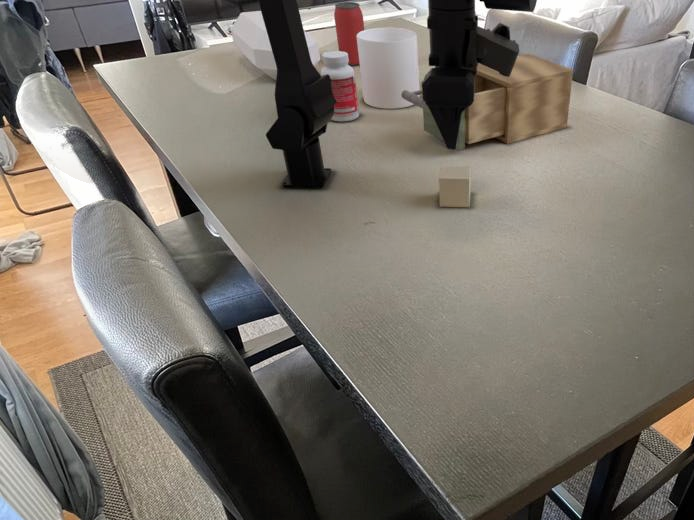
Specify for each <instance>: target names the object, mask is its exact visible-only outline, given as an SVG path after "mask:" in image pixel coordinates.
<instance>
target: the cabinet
mask: <svg viewBox="0 0 694 520" xmlns="http://www.w3.org/2000/svg"><path fill="white" fill-rule="evenodd" d="M476 67H477V73H476V75H479V76H481V77H484V78H486V79H488V80H491V81H493V82H496V83H498V84H500V85H503V86H505V87H507V98H506V123H505V134H504V135H501V136H497V137H494V138H495V139H497V140H499V141H501V142H503V143H505V144H507V145H508V144H512V143H515V142H519V141H523V140H527V139H530V138H534V137H538V136H541V135H544V134H548V133H552V132H556V131H559V130H562V129H566V128H568V121H569V112H570V111H569V110H570V101H571V93H572V84H573V74H574V69H572V68H570V67H567V66H564V65H561V64H559V63H555V62H553V61H550V60H547V59H545V58H542V57H539V56H536V55H532V54H529V53H526V54H521V55H518V56H517V59H516V62H515V64H514V67H513V69H512V72H511V75H510V77H506V76H503V75H501V74H500V73H499V72H498V71H496V70H493V69H491V68H489V67H486V66H484V65H482V64H480V63H479V64H478V66H476Z"/></svg>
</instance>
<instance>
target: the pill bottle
mask: <svg viewBox="0 0 694 520" xmlns="http://www.w3.org/2000/svg"><path fill="white" fill-rule="evenodd" d="M321 56H322V57H321V58H322V63H323V65H324V66H323V67H322V68H321V70H320V75H321V76H322V75H327V74H328V75H329V76H330V78H331V85H332V92H333V95H334V97H335V99H336V101H337V104H335V105H334V116H333V117H332V119H331V120H330V121H334V122H350V121H353V120H356V119H358V118H359V116H360V107H359V100H358V99H359V98H358V92H357V91H358V90H357V85H356V84H357V82H356V77H355V71H354V69H353V67H352V66H351V65H348V62H349V58H348V53H346V52H342V51H339V50H332V51H325V52H323V53H322V54H321Z"/></svg>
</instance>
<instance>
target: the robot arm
mask: <svg viewBox="0 0 694 520" xmlns="http://www.w3.org/2000/svg"><path fill="white" fill-rule="evenodd" d="M257 1H258V5H259V8H260V11H261V13H262V16H263V20H264V24H265V27H266V31H267V34H268V38H269V42H270V45H271V49H272V52H273V56H274V60H275V63H276V67H277V76H276V81H275V87H274V101H275V108H276V114H277V119H276V120H275V121H274V123H273V124H272V125H271V127H270V128H268V130H267V132H266V133H265V137H266V139H267V141H268V143H269V145H270V146H271V147H270V148H272V149H273V150H280V151H282V154H283V159H284V165H285V167H286V172H287V174H286V176H285V177H284V179H283V181H282V182H281V186H282V188H299V189H300V188H304V189H305V188H306V189H323V188H324V187H325V186H326V184H327V181H328V180H329V178H330V176H331V175H332V168H329V167H325V165H324V160H323V154H322V148H321V142H320V138H319V137H321V136H322V135H324V134H326V132H327V129H328V124H329V123H330V122H331V121H332V120H331V119H332V117H333V116H334V105H335V104H337V101H336V99H335V97H334V95H333V92H332V85H331V78H330V76H329V75H328V74H327V75H322V76H321V73H320V72H319V71H318V69H317V68H316V66H315V67H314V65H313V64H312V61H311V58H310V54H309V50H308V46H307V42H306V38H305V33H304V31H305V30H304V26H303V25H304V24H303V22H302V18H301V14H300V13H301V12H300V9H299V5H298V0H257ZM479 2H481V3H483V4H484V7H485V9H488V10H499V11H512V12H527V13H533V12H534V11H535V9H536V6H537V2H538V0H479ZM427 4H428V5H427V8H428V15H427V18H426V29H427V30H428V33H429V34H428V35H429V54H428V67H431V68H430V70H429V71H428V72H427V73H426V74H425V75H424V77H423V83H421V90H422V91H423V101H425V103H426V105H427V106H428V108H429V110H430V112H431V114H432V116H433V118H434V120H435V122H436V124H437V126H438V129H439V131H440V133H441V135H442V137H443V140H444V141H443V142H444V144H445V146H446V148H447V150H456V144H457V138H458V132H459V126H460V121H461V115H462V112H463V111H464V110H465V109H466V108H468V107H470V106H471V105H472V104H473V102H474V95H475V77H474V75H475V74H476V73H477V67H476V66H478V63H480V64H482V65H484V66H486V67H489V68H491V69H493V70H496V71H498V72H499V73H500V74H501V75H503V76H506V77H510V75H511V72H512V69H513V67H514V64H515V62H516V59H517V56H519V54H520V45H519V43H517V41H516V40H515V39H513V40H512V39H511V31H510V29H511V28H510V26H508V25H507V24H504V23H502V22H498V24H497V25H496V26H495V27H494V28H493V29H492V30H491V29H490V28H487V29H486V28H483V27H481V26H479V15H478V14H476V13H477V12H476V0H428V1H427Z"/></svg>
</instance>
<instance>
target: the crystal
mask: <svg viewBox="0 0 694 520" xmlns="http://www.w3.org/2000/svg"><path fill="white" fill-rule="evenodd" d="M304 33H305V38H306V42H307V46H308V50H309V54H310V58H311V61H312V64H313V65H314V67H315V68H316V66H317V65H318V64H319V62H320V61H321V54H320V47H319V41H318V40H316V39H315V38H314V37H313V36H312V35H310V33H308V32H307V31H306V30H304ZM230 34H231V37H232V41H233V46H234V47H235V48H236V49H237V50H238V51H239V52H240V53H241V54H242V55H243V56H244V57H245V58H246V59H247V60H249V61H250V62H251V64H253V65H254V66H255V67H256V68H257V69H258V70H260V71H261V72H263V73H264V74H266V75H267V76H268V77H269V78H271V79H272V80H274V81H275V82H276V76H277V67H276V63H275V60H274V56H273V52H272V49H271V45H270V42H269V38H268V34H267V31H266V27H265V24H264V20H263V16H262V13H261V10H254V11H244V12H240V14H239V15H238V17H237V18H236V20H235V21H234V23H233V24H232V25H231V27H230Z"/></svg>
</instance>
